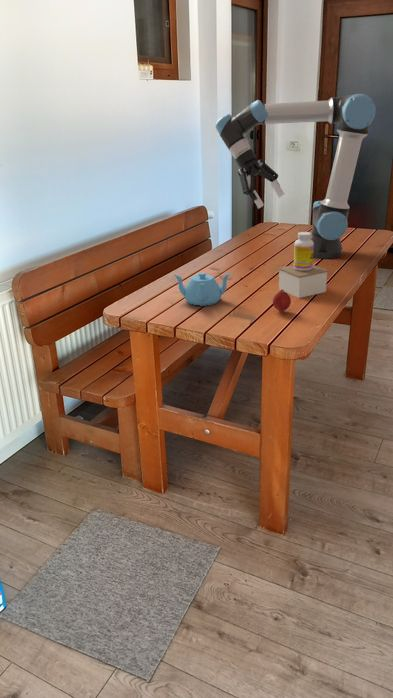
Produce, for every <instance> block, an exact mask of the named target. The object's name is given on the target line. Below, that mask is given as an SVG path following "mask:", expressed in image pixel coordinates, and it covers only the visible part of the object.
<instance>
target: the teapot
mask: <svg viewBox="0 0 393 698" xmlns="http://www.w3.org/2000/svg"><path fill="white" fill-rule="evenodd" d="M231 274H232V272H228V273H226V274H224V275H223V277H222V283H221V284H220V285H219V283H218V282H217V280H216V279H215V277H214V276H212V275H211V274H207V273H206V272H204V271H202V272H199V273H198V274H197V275H193V276H192V277H191V278H190V279H189V281H188V282H187V284H186V286H185V285H184V284H183V279H182V278H183V277H181V276H180V275H178V274H173V276H174V277H175V278H176V279H177V282H178V290H179V293H180V294H181V296H184V300H185V301H186V302H187V303H188V304H190V305H192V304H193V305H192V306H195V305H200V306H199V307H207V305H208V306H212V305H215V304H217V303H218V302H219V301H220V300H221V298H222V296H223V295H224V294H225V293H226V291H227V286H228V285H227V284H228V283H227V280H228V277H229V276H230V275H231Z"/></svg>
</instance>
